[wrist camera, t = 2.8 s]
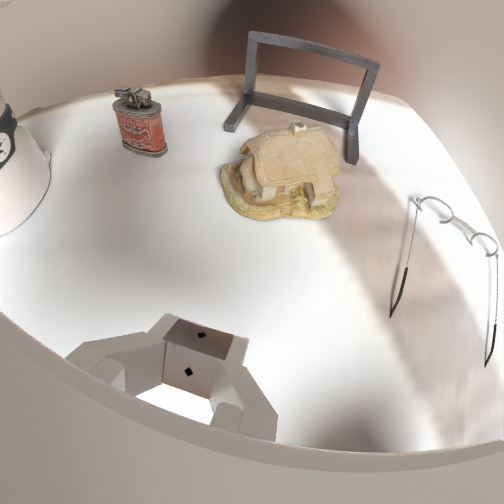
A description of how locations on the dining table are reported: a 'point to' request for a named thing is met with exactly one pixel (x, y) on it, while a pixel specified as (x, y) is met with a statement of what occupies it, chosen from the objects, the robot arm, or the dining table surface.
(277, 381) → the dining table surface
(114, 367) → the robot arm
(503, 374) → the dining table surface
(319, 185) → the ceramic model
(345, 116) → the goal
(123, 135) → the lighter
